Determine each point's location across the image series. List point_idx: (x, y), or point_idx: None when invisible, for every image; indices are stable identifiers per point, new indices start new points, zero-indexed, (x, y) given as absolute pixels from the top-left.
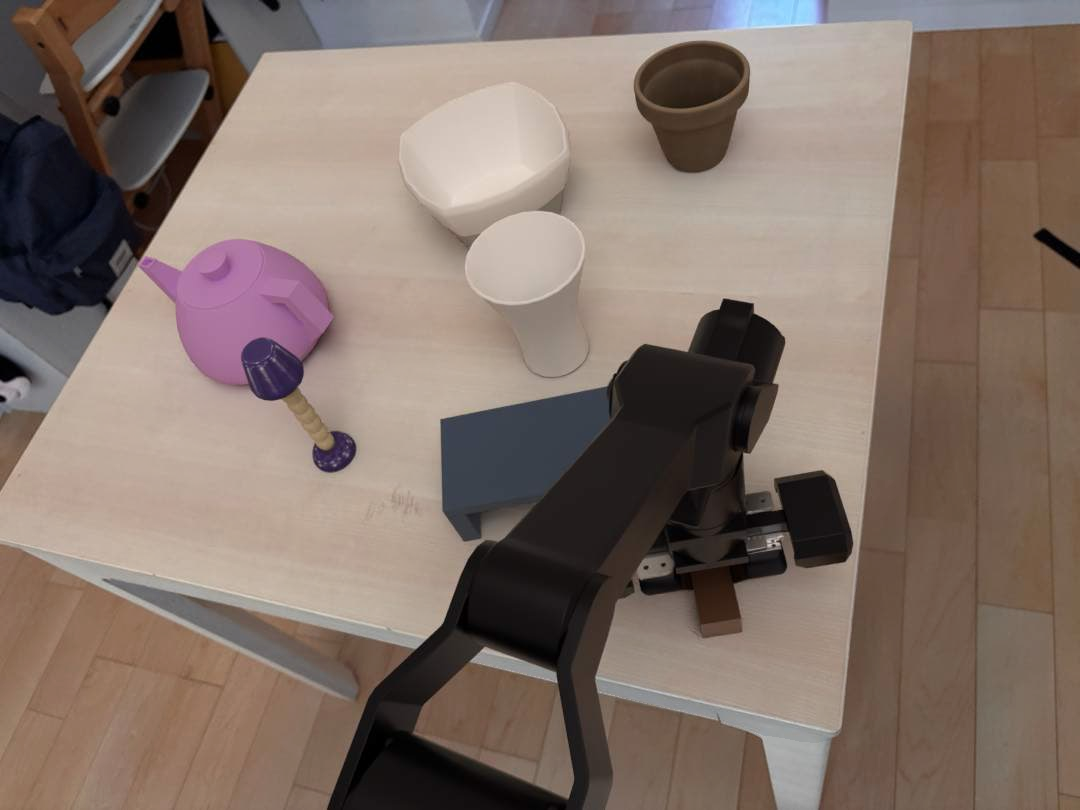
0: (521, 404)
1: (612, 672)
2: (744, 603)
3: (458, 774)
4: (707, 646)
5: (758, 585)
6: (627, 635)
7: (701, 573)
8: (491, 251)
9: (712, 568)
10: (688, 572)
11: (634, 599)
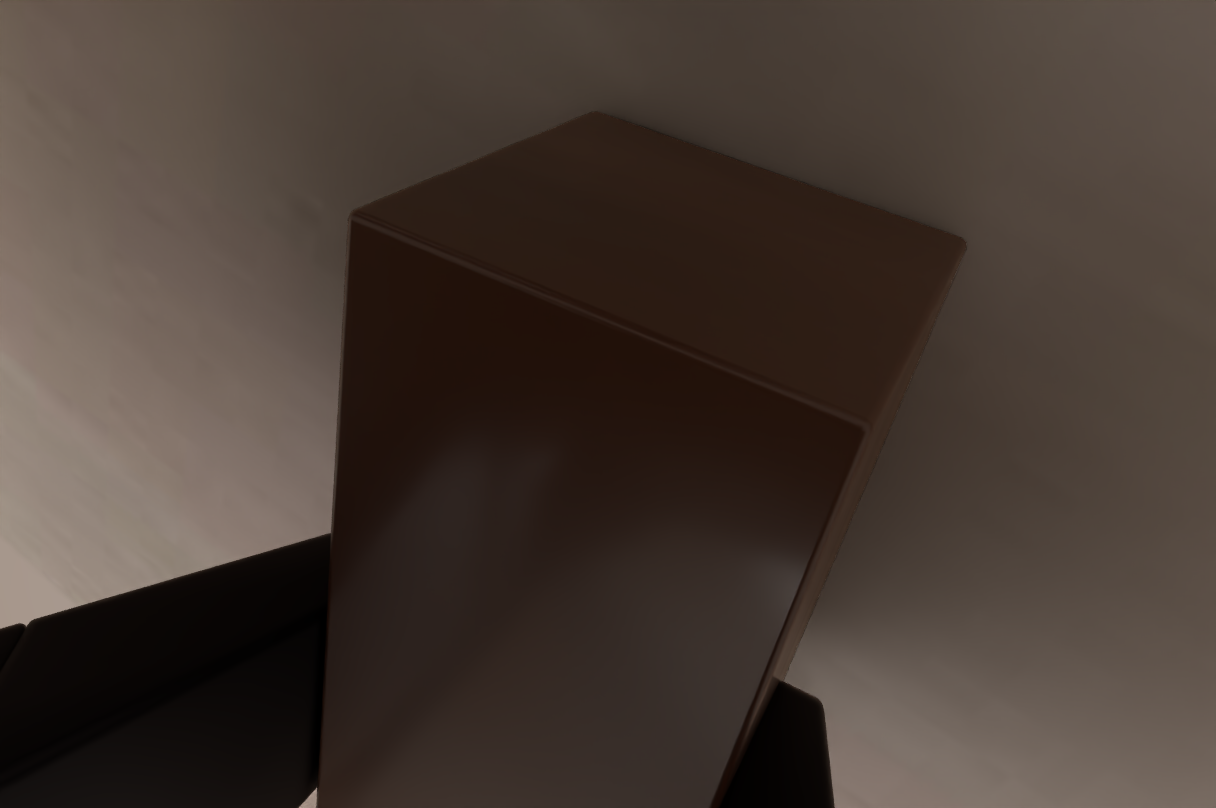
0: None
1: (58, 584)
2: None
3: None
4: None
5: (992, 778)
6: (122, 489)
7: (409, 758)
8: None
9: (515, 801)
10: (257, 745)
11: (168, 333)
